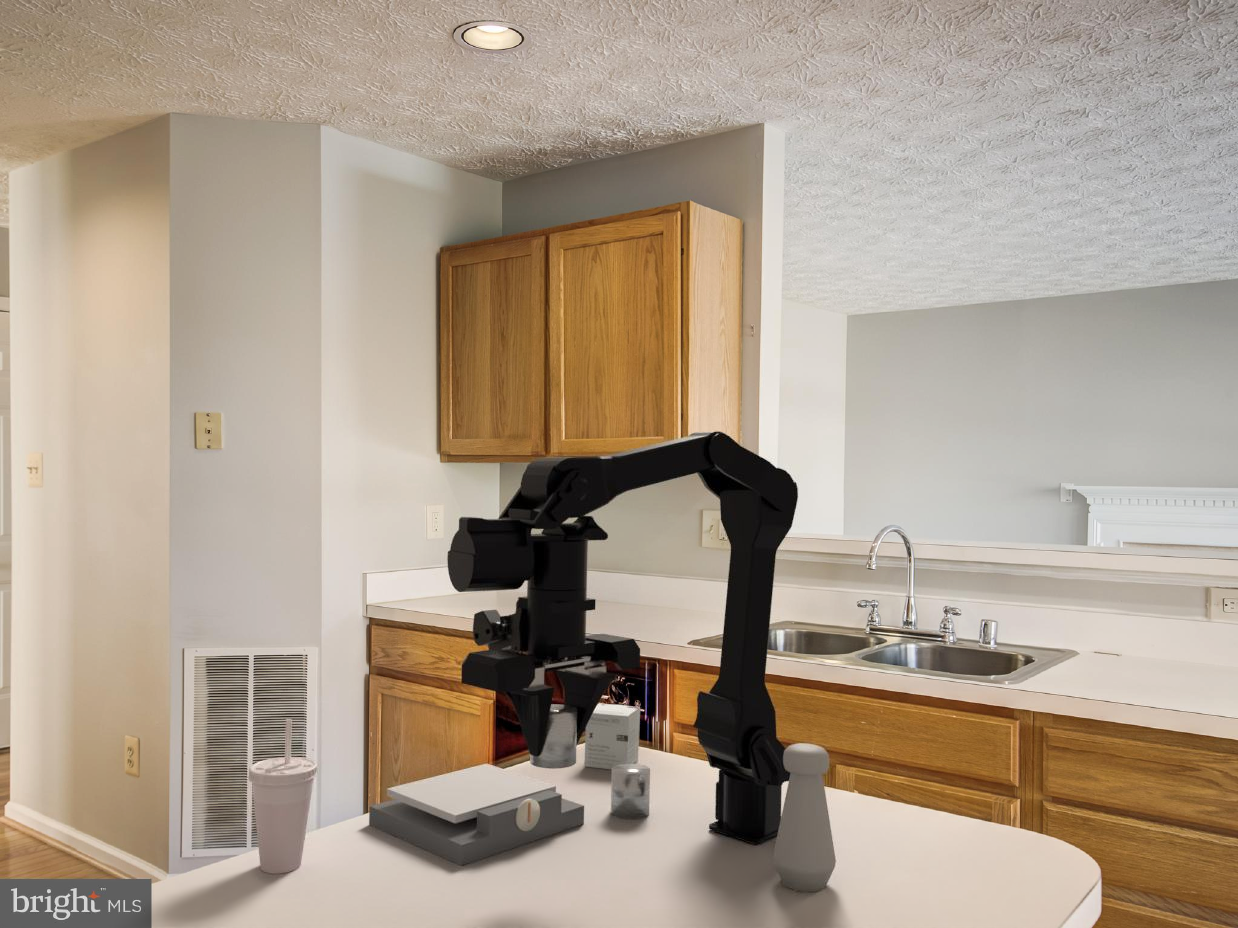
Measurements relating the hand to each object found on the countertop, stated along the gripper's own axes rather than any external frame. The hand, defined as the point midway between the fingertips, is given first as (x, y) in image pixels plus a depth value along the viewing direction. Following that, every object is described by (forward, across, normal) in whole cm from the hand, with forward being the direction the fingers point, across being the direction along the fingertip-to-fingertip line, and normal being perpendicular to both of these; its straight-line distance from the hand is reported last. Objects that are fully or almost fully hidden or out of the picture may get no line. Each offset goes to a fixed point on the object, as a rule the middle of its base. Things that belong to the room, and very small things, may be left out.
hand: (553, 750), depth 95 cm
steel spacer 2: (+12, -19, -7) cm, 24 cm away
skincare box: (+12, -32, -22) cm, 41 cm away
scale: (+12, -4, -16) cm, 20 cm away
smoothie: (+12, +17, -20) cm, 29 cm away
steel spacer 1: (+1, 0, 0) cm, 1 cm away
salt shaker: (+12, -16, +18) cm, 27 cm away
